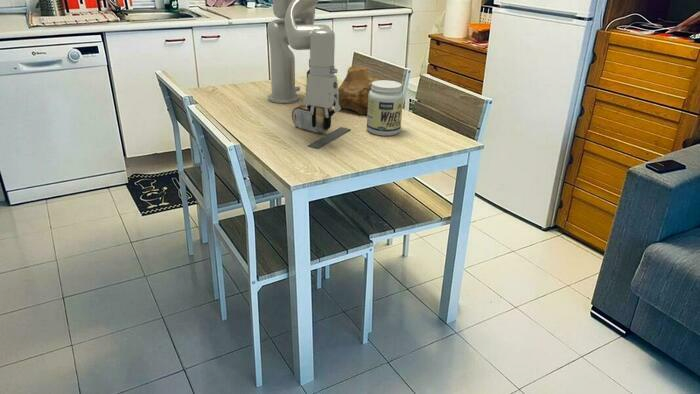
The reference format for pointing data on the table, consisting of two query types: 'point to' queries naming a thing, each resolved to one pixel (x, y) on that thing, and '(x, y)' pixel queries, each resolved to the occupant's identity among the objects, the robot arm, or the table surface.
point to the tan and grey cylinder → (320, 119)
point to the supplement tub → (385, 108)
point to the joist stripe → (329, 138)
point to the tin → (303, 119)
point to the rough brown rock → (356, 90)
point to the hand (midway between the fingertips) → (321, 126)
